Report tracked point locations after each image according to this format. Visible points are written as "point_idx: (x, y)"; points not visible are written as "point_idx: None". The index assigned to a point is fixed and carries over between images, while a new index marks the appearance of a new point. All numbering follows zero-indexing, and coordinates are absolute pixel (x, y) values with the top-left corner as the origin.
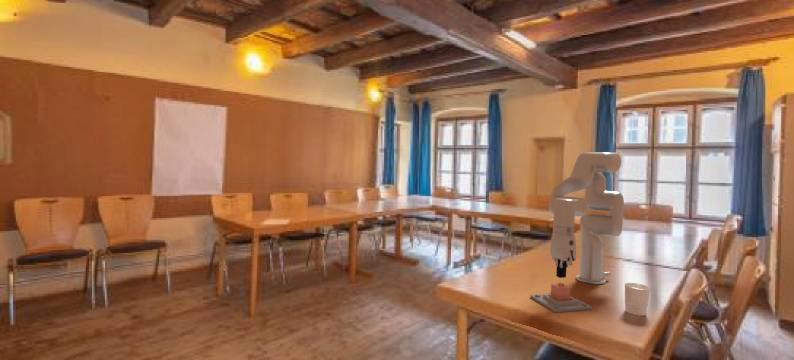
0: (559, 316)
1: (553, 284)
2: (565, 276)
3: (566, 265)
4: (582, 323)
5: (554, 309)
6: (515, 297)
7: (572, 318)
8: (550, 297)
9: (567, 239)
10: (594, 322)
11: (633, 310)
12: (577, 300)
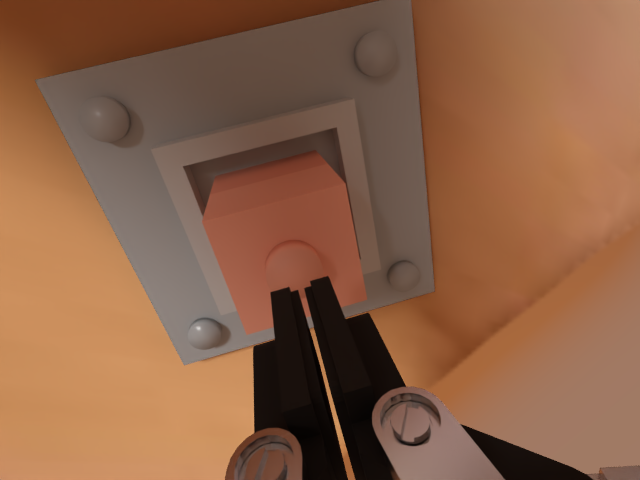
0: (476, 279)
1: (263, 321)
2: (332, 286)
3: (513, 475)
4: (576, 199)
5: (424, 293)
6: (200, 421)
7: (512, 224)
8: None
9: None
10: (587, 123)
11: None
12: (265, 56)
